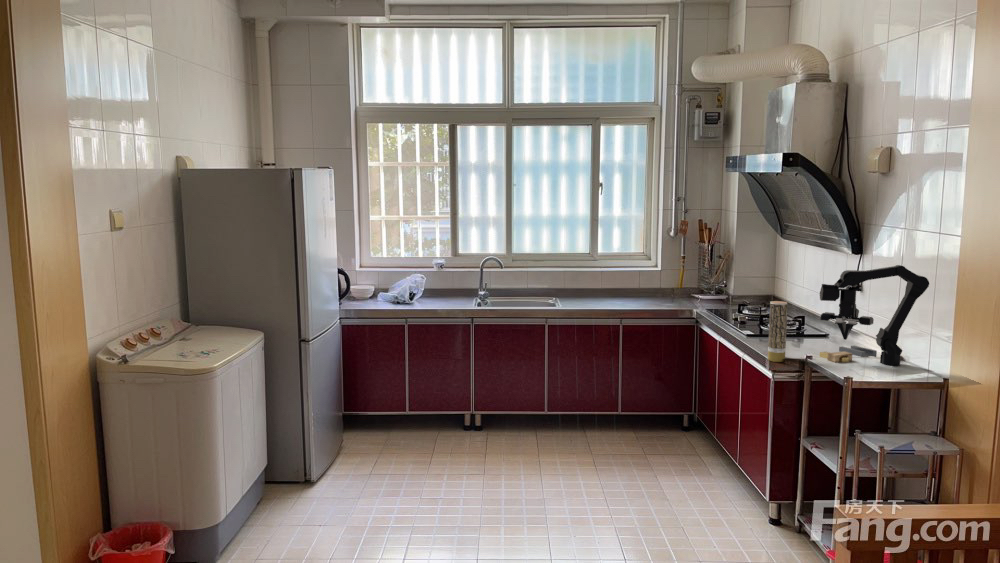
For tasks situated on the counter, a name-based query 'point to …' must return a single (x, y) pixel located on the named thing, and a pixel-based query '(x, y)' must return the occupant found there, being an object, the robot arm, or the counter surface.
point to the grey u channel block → (859, 351)
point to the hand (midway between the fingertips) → (845, 339)
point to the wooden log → (777, 331)
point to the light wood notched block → (835, 356)
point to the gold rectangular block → (841, 358)
